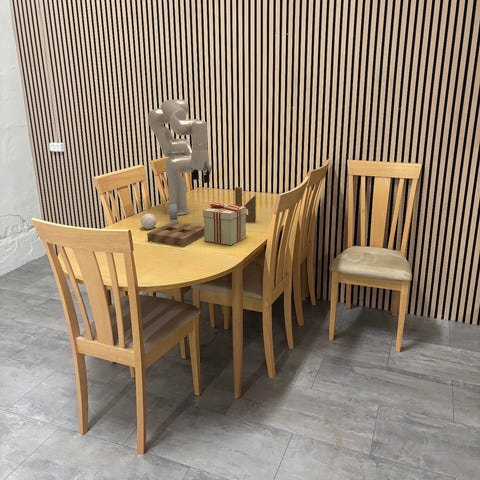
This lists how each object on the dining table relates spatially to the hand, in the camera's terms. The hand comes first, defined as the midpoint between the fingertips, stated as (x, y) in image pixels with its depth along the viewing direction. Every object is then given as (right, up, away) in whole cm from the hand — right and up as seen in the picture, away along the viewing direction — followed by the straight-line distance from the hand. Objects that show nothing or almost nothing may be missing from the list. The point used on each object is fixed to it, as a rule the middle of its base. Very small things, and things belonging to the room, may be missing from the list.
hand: (201, 181), depth 244 cm
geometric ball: (-26, -24, +2) cm, 36 cm away
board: (-10, -29, -14) cm, 33 cm away
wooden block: (+22, -20, +11) cm, 32 cm away
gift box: (+13, -29, -15) cm, 35 cm away
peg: (-14, -22, +6) cm, 27 cm away
